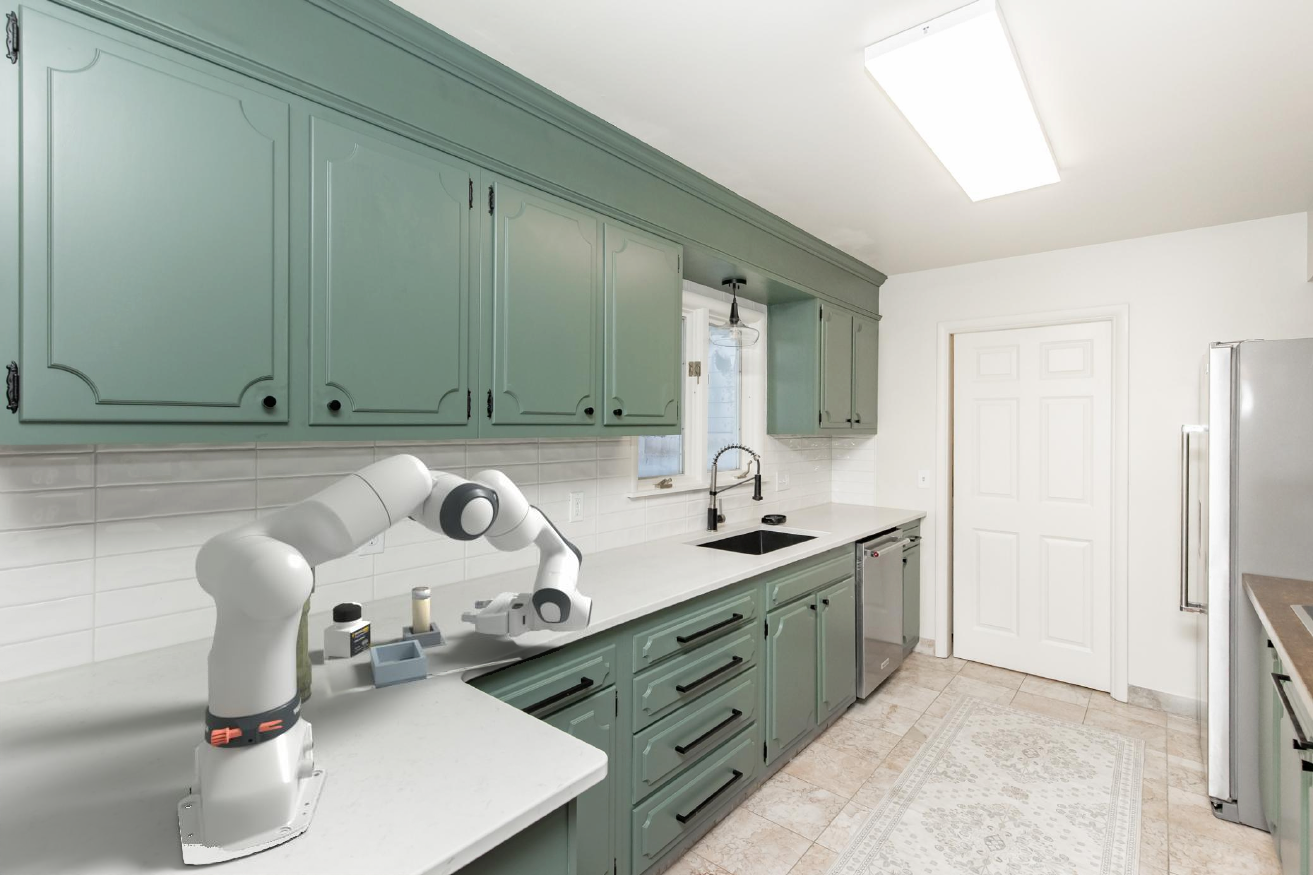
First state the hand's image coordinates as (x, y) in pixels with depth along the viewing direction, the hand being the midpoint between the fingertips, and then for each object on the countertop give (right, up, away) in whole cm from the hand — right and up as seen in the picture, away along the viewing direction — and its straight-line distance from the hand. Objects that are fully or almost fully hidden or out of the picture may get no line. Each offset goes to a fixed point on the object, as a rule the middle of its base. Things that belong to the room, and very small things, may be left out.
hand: (469, 610), depth 150 cm
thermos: (-28, -10, -28) cm, 41 cm away
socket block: (-12, -9, +1) cm, 15 cm away
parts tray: (-11, -10, -15) cm, 21 cm away
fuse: (-12, -8, +1) cm, 14 cm away
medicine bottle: (-27, -9, -5) cm, 29 cm away
